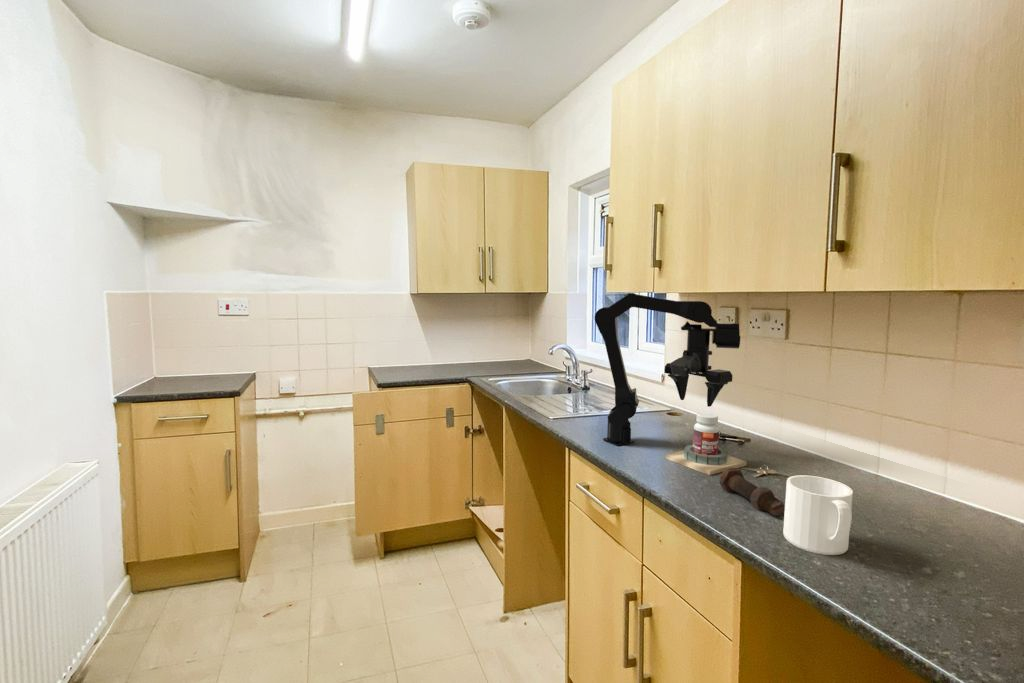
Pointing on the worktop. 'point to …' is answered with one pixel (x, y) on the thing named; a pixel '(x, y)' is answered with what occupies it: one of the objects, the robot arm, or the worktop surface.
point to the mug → (817, 514)
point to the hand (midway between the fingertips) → (695, 403)
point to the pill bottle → (706, 434)
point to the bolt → (751, 491)
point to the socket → (705, 460)
